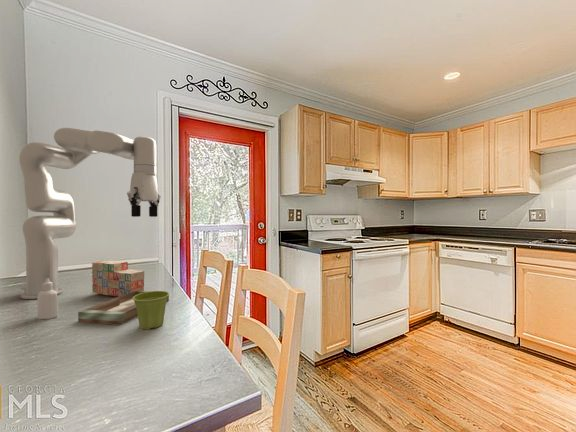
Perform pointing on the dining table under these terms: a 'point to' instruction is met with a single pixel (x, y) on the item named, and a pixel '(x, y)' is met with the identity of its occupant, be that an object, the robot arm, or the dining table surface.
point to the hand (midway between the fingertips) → (145, 216)
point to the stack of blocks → (115, 278)
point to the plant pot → (151, 308)
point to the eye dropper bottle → (47, 301)
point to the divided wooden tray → (112, 310)
